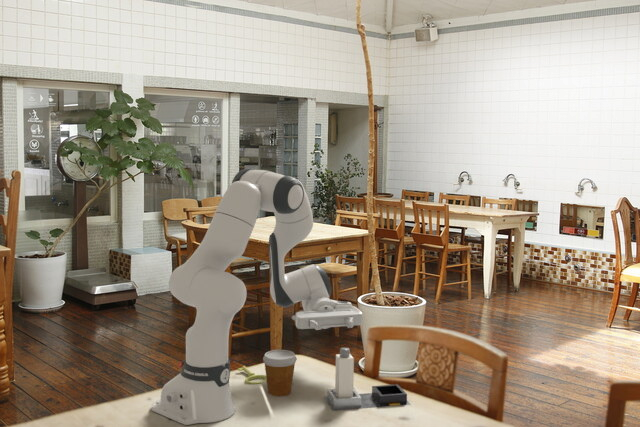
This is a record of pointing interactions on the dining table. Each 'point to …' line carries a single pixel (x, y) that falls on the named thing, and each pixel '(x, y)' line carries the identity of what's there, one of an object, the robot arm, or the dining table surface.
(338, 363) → the plug
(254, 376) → the key
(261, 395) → the dining table surface
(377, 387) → the panel
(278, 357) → the disposable coffee cup
